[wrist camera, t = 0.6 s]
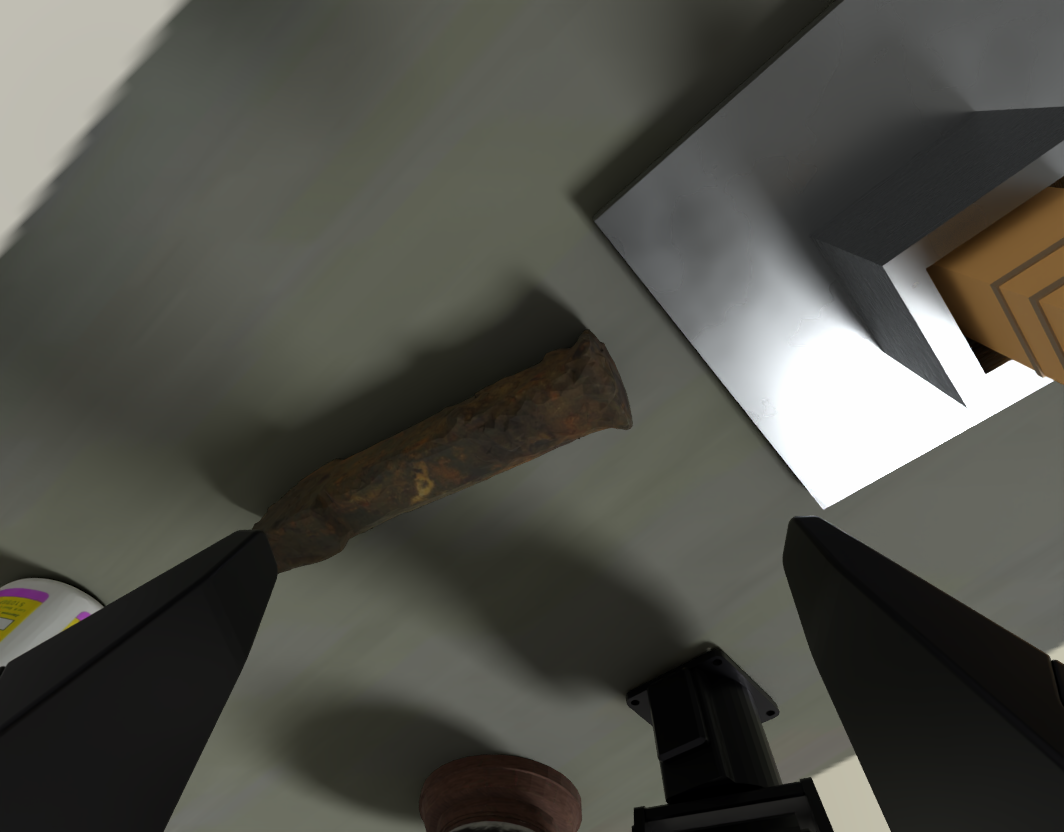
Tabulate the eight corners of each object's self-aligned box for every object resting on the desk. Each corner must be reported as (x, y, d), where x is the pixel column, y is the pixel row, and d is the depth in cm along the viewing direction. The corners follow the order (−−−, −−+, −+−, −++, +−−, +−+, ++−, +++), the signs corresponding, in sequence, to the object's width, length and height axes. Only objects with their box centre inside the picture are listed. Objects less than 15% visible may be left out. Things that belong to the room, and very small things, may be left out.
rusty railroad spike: (595, 311, 22) (603, 352, 18) (632, 394, 23) (646, 450, 19) (232, 472, 26) (170, 535, 22) (282, 533, 28) (234, 602, 24)
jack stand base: (1221, 258, 20) (1468, 305, 14) (811, 493, 25) (880, 591, 20) (1064, -205, 14) (1361, -403, 9) (592, 216, 20) (605, 247, 14)
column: (995, 249, 18) (1367, 348, 10) (905, 308, 19) (1173, 443, 11) (957, 174, 17) (1335, 212, 9) (864, 240, 18) (1124, 331, 10)
